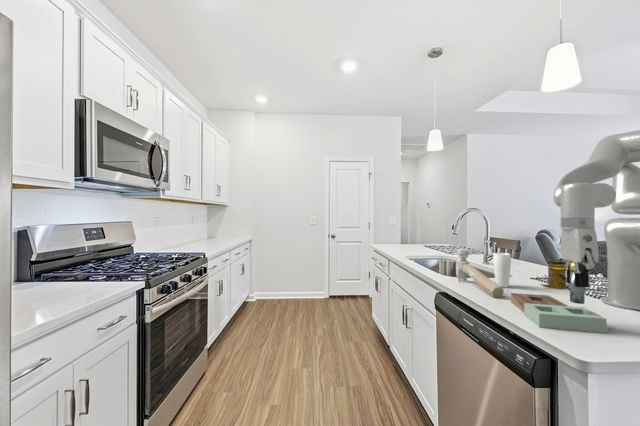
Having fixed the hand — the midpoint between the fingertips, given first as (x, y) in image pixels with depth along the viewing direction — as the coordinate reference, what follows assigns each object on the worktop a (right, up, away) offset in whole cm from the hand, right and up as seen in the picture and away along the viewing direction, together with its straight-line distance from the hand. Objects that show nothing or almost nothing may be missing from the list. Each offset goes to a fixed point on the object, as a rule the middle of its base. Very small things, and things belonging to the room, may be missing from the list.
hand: (577, 284), depth 84 cm
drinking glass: (+6, -12, +44) cm, 46 cm away
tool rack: (-4, -12, +1) cm, 13 cm away
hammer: (-7, -13, +41) cm, 44 cm away
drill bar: (0, -5, 0) cm, 5 cm away
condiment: (+29, -12, +42) cm, 52 cm away
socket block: (-1, -12, +14) cm, 18 cm away
